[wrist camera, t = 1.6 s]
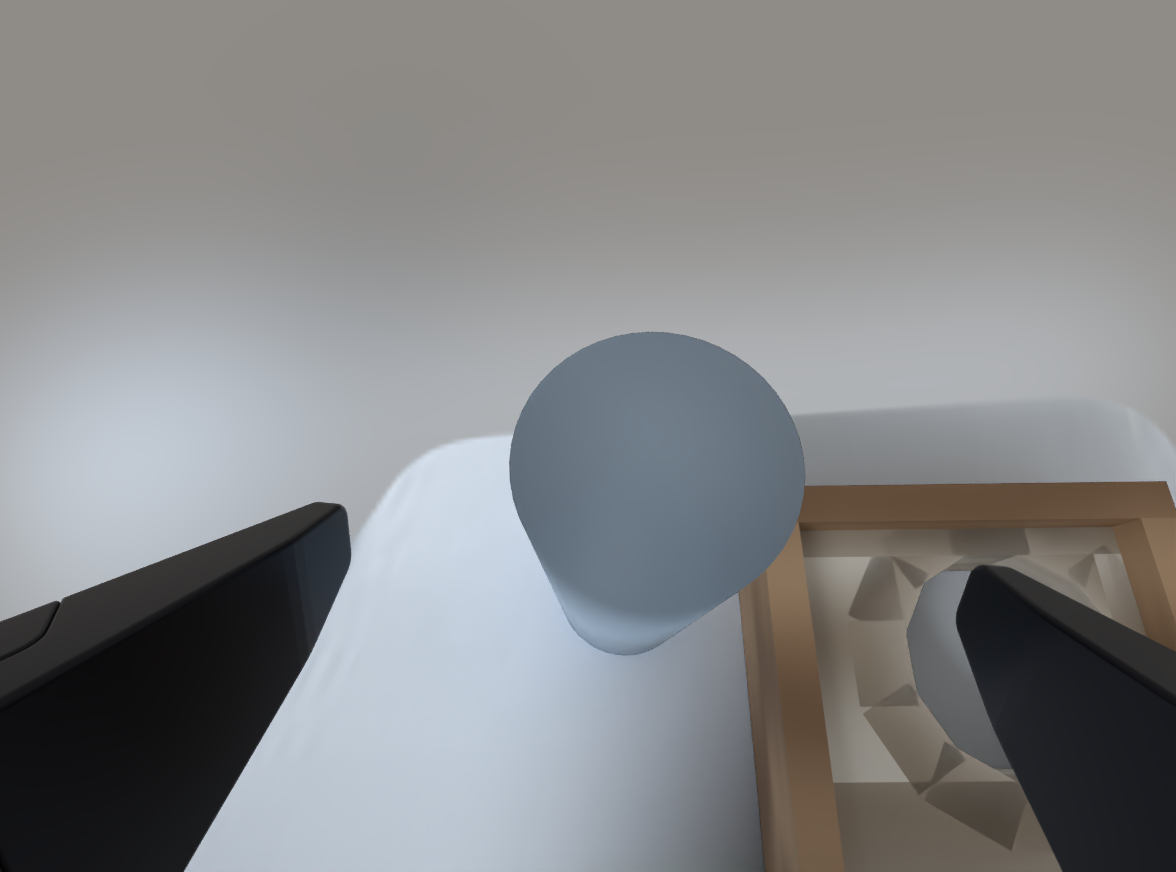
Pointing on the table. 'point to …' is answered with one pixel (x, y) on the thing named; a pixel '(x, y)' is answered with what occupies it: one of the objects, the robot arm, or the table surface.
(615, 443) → the peg
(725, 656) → the table surface
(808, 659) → the walnut box
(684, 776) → the table surface
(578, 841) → the table surface
